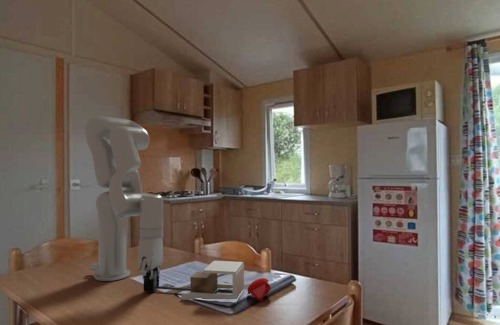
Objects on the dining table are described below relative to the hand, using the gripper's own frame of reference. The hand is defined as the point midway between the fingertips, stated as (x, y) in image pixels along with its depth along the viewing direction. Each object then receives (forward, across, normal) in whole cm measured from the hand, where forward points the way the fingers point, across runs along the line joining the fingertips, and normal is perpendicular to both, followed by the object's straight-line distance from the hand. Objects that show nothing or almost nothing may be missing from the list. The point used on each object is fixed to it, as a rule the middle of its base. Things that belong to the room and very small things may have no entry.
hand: (151, 288), depth 115 cm
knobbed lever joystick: (+1, 0, +10) cm, 10 cm away
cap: (+1, 0, +36) cm, 36 cm away
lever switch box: (+1, 0, +21) cm, 21 cm away
